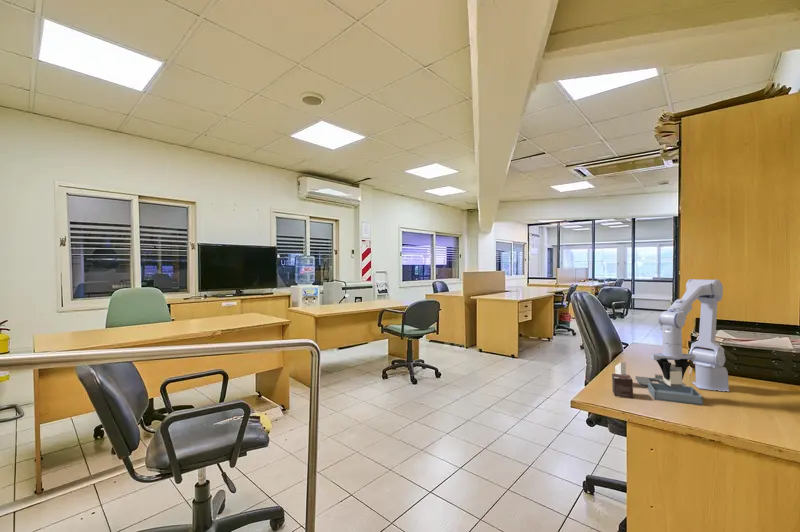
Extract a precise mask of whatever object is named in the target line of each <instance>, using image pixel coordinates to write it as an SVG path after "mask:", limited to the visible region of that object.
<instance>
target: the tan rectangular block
mask: <svg viewBox="0 0 800 532" xmlns="http://www.w3.org/2000/svg"><path fill="white" fill-rule="evenodd" d="M662 376H663V375H662ZM663 379H664V385H665V386H667V387H669V388H675V389H682V382H683V380H682V367H680V366H677V365H675V363H671V367H670V379H669V380H667V379H665V378H664V376H663Z"/></svg>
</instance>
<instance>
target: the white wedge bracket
mask: <svg viewBox="0 0 800 532" xmlns="http://www.w3.org/2000/svg"><path fill="white" fill-rule="evenodd" d="M626 366H627V364H626V362H625V361H624V362H619V363H617V364H616V365H615V367H614V374H623V375H627V369H626V368H627V367H626Z"/></svg>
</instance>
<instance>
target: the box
mask: <svg viewBox="0 0 800 532" xmlns="http://www.w3.org/2000/svg"><path fill="white" fill-rule="evenodd" d="M611 381H612V383H611V386H612V393H613V395H614V397H615V396H620V397H619V398H626V397H627V399H634V385H633V383H634V382H633V379H632V377H631V376H630V374H626V375H623V374H615V373H612V375H611Z"/></svg>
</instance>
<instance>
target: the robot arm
mask: <svg viewBox="0 0 800 532" xmlns="http://www.w3.org/2000/svg"><path fill="white" fill-rule="evenodd" d="M723 292H724V285H723V283H722V282H721V281H720V280H719V279H702V278H701V279H699V278H698V279H694V278H690V279H688V280H687V281H686V284H685V292H684V293H683V295H682V297H681V298H677V299H675V300H674V302H673V303H672V304H671V305H670V306H669V307H668V309H667V310H663V311H662V312H660V313H659V314H658V319H657V321H658V324H659V327H660V330H661V331H662V352H660V353H650V359H651V360H652V361H656V363H657V364H658V365H659V367H660V370H661V372H662V376H664V377H663V379H664V378H665V379H667V380H669V379H670V367H671V364H672V362H670V361H674V364H675V365H677V366H680V367H682V381H683V380H684V376H685V374H686V371H687V369H688V367H690V365H691V362H692V363H693V365H694V366H695V367H694V368H695V381H691V383H692V384H693V385H694V386H695V387H696V388H697V389H700V390H707V391H708V390H709V391H716V390H718V392H725V391H727V392H728V393H729V392H730V389H729V388H730V387H729V372H728V370H727V369H728V368H726V367H725V363H726V355H725V349H724V347H723V346H722V345H720V344H718V343H717V341H716V333H717V319H718V318H717V317H718V316H717V315H718V302H720V301H722V299H723V296H724V293H723ZM696 300H698V301H699V302H700V313H699V314H700V316H699V329H698V330H699V331H698V332H699V333H698V340H696V341H694V342H691V346H690V349H689V352H688V353H683V331H682V330H683V329H682V328H683V327H684V326H685V325H686V320H687V316H688V314H689V313H690V312H691V311H692V309H693V305H692V304H693V303H695V301H696ZM727 392H726V393H727Z"/></svg>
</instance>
